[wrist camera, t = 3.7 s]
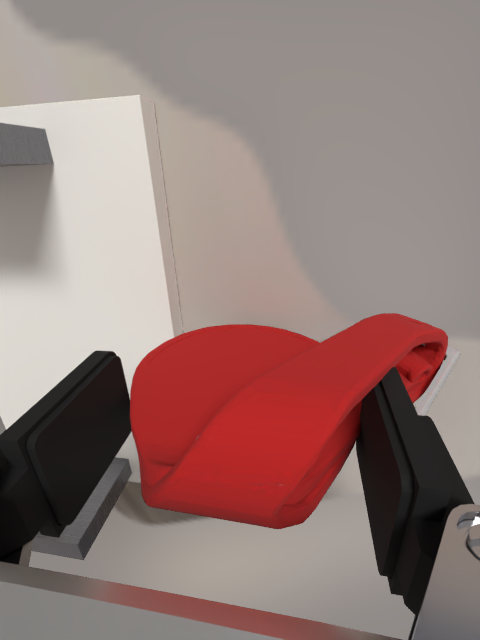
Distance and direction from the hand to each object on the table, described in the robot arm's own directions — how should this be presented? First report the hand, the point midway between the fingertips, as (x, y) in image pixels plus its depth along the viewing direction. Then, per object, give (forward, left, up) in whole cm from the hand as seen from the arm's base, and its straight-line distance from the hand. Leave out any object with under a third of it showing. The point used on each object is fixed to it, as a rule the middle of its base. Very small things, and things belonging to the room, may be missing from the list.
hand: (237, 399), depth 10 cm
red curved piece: (-2, 0, -6) cm, 7 cm away
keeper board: (+10, +1, -6) cm, 12 cm away
